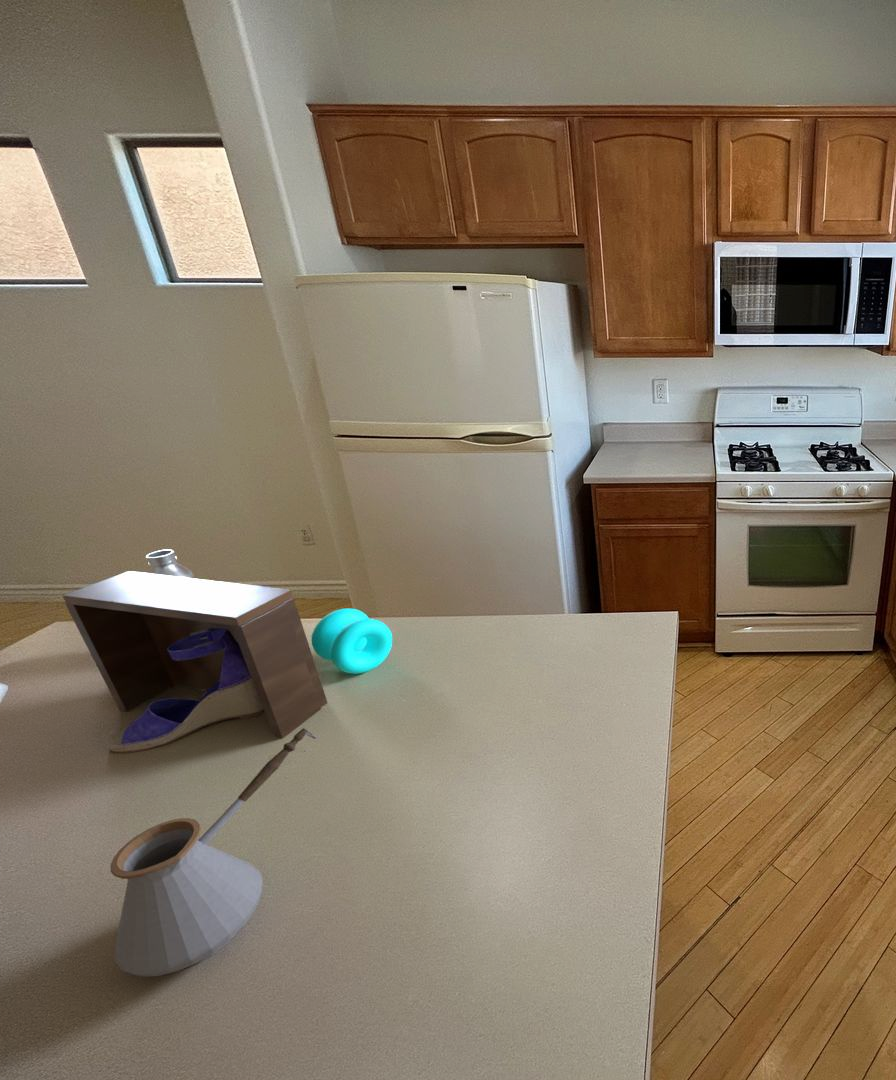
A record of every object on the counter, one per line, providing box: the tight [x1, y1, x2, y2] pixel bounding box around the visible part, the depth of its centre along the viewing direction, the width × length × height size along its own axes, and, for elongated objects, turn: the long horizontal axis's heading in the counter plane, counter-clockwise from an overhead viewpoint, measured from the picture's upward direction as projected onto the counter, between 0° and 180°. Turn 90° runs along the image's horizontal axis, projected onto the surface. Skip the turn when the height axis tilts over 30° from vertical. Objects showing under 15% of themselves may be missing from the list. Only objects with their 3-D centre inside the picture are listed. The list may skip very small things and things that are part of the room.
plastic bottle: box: [145, 549, 196, 579], centre depth 103 cm, size 6×7×20 cm
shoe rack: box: [62, 570, 328, 739], centre depth 87 cm, size 32×9×21 cm, turn 79°
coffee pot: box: [110, 727, 319, 977], centre depth 60 cm, size 21×12×15 cm, turn 159°
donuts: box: [311, 607, 393, 675], centre depth 101 cm, size 10×10×10 cm
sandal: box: [105, 628, 265, 754], centre depth 84 cm, size 8×20×15 cm, turn 109°
